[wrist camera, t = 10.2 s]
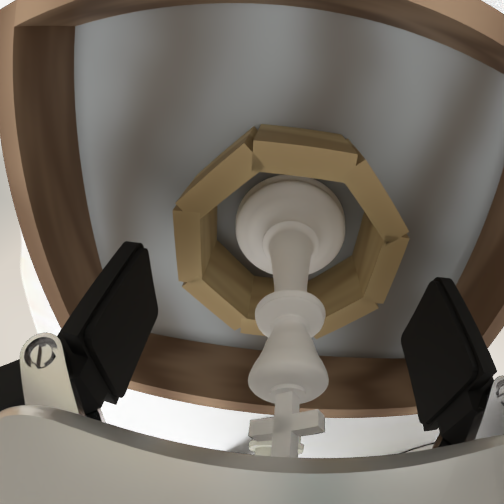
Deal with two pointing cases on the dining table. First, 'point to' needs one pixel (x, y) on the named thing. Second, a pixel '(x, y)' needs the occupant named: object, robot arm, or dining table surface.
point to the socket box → (260, 171)
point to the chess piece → (289, 299)
